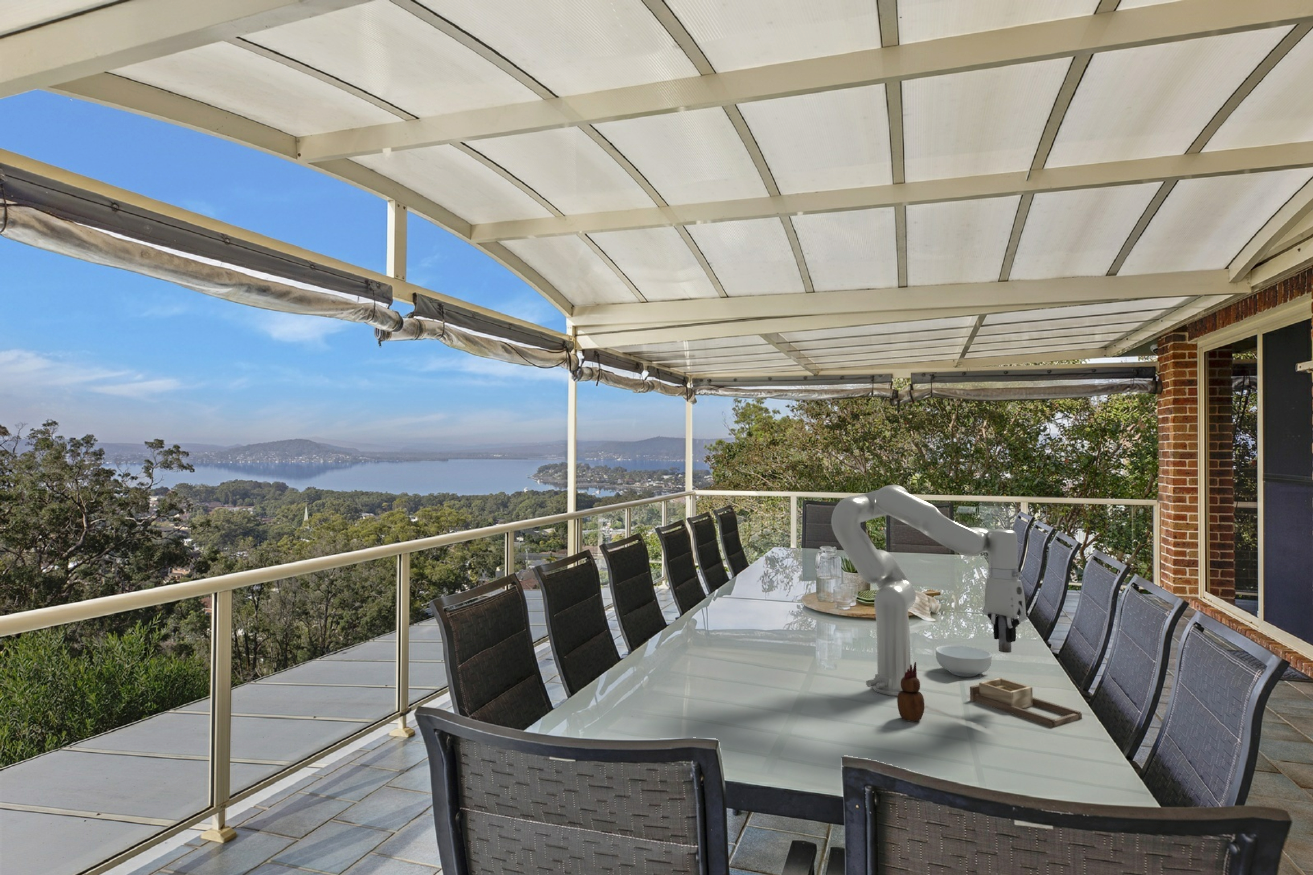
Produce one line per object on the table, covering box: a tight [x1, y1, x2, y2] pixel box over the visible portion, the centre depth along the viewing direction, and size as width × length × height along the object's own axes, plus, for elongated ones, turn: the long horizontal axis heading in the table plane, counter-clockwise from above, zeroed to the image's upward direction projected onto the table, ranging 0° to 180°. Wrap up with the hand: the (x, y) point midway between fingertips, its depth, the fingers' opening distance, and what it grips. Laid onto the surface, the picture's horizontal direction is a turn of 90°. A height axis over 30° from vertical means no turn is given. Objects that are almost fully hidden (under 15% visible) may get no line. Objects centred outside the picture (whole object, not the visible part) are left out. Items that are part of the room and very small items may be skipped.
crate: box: [978, 677, 1034, 709], centre depth 205 cm, size 9×10×5 cm
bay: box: [969, 684, 1083, 728], centre depth 200 cm, size 13×24×5 cm, turn 29°
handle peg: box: [997, 615, 1012, 654], centre depth 205 cm, size 3×3×10 cm
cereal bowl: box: [935, 645, 993, 678], centre depth 237 cm, size 17×17×7 cm
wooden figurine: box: [896, 661, 925, 722], centre depth 196 cm, size 7×6×15 cm
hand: (1004, 639), depth 205 cm, fingers closed on handle peg, 3 cm apart
